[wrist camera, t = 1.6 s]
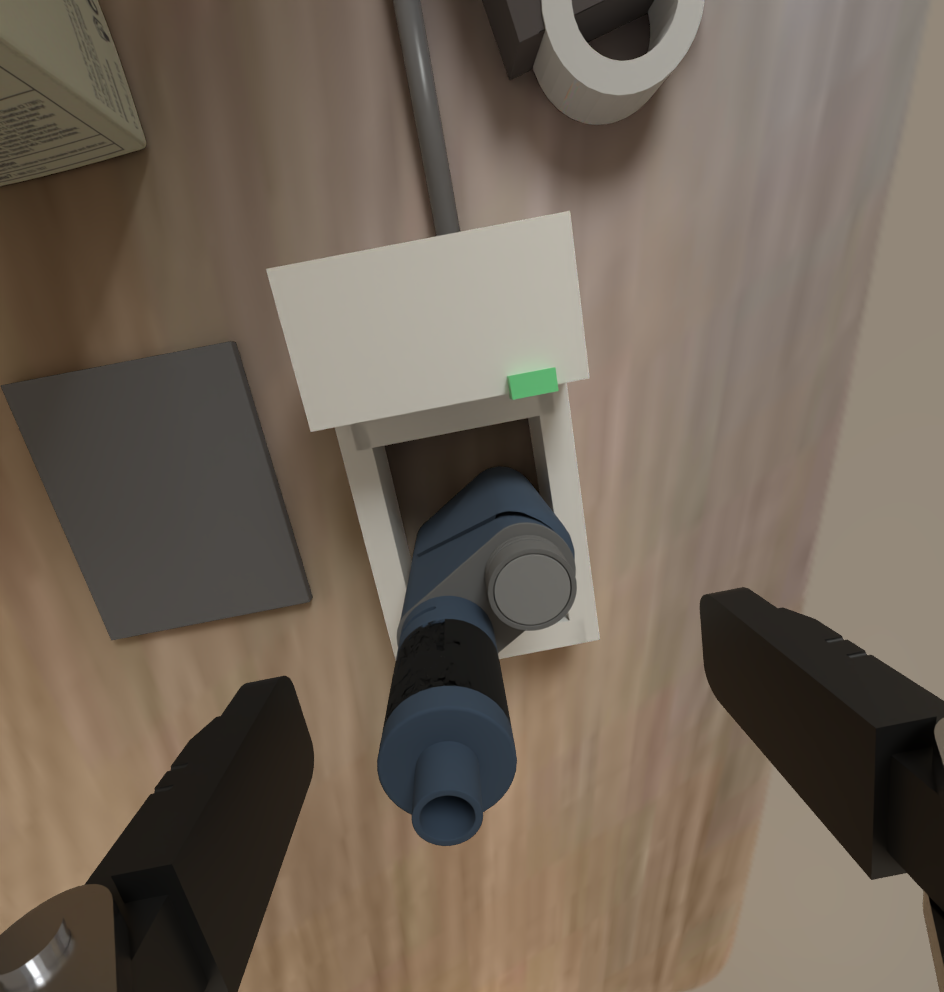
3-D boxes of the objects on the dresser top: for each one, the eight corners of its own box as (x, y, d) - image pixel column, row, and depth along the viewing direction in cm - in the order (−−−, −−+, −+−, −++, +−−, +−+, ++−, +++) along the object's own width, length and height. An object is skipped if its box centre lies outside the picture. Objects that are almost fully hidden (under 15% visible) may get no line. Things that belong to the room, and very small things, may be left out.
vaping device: (402, 538, 18) (322, 817, 7) (501, 449, 18) (605, 587, 6) (446, 582, 19) (444, 909, 7) (544, 497, 18) (715, 709, 7)
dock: (226, -75, 13) (84, -365, 8) (479, -122, 13) (500, -442, 8) (406, 641, 19) (390, 738, 14) (580, 607, 19) (630, 690, 14)
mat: (11, 385, 16) (0, 385, 16) (235, 342, 16) (230, 341, 16) (118, 634, 19) (111, 640, 18) (312, 597, 19) (309, 601, 18)
